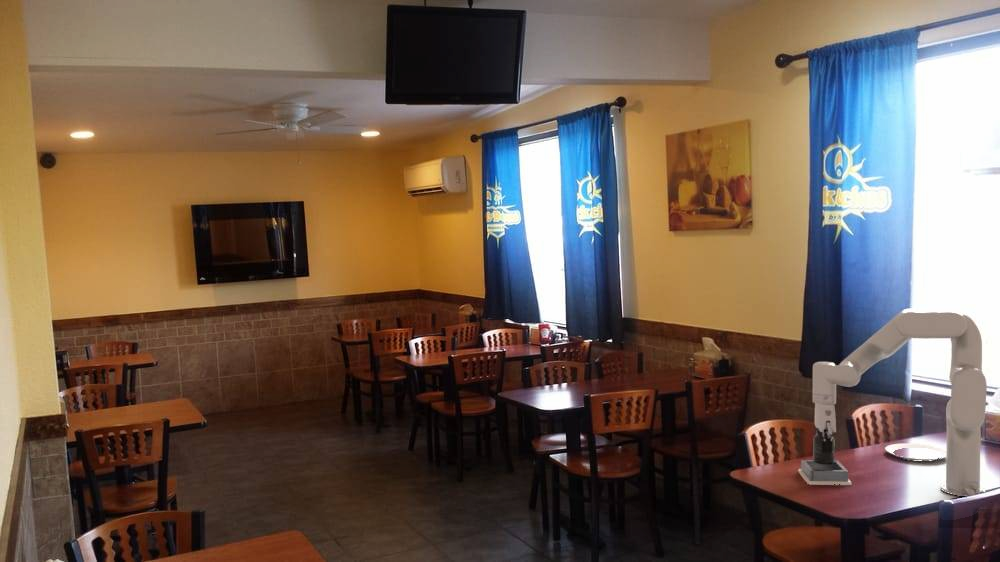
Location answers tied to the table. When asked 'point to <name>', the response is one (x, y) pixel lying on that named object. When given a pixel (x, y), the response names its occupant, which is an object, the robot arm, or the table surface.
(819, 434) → the supplement bottle
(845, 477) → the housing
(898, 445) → the plate
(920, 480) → the table surface
